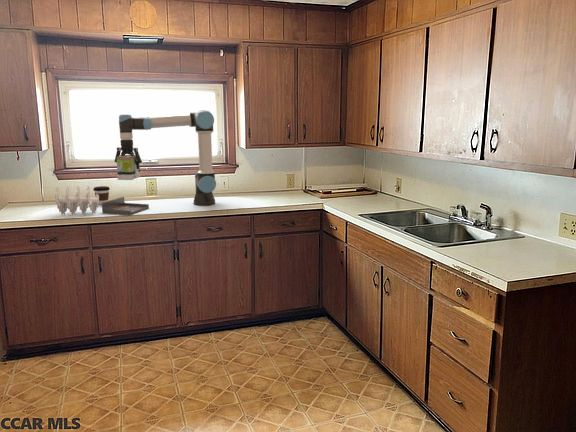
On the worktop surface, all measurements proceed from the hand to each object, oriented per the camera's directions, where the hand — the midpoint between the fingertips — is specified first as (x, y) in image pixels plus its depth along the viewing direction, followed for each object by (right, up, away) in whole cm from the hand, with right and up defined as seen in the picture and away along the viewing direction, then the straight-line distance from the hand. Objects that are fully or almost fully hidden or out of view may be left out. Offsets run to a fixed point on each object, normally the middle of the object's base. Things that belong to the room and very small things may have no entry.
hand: (128, 173), depth 305 cm
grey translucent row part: (-31, -26, -2) cm, 41 cm away
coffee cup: (-28, -19, +28) cm, 44 cm away
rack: (-4, -24, +6) cm, 25 cm away
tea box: (0, -3, +1) cm, 3 cm away
